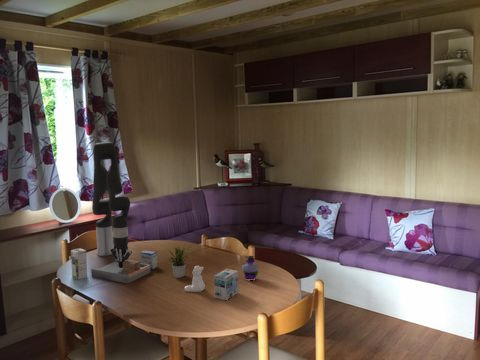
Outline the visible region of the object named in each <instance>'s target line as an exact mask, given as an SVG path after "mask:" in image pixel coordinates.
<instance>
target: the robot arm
mask: <svg viewBox="0 0 480 360" xmlns="http://www.w3.org/2000/svg"><path fill="white" fill-rule="evenodd" d="M92 149H93V150H92V151H93V154H92V155H93V182H92V183H93V193H92V194H93V195H92V196H93V197H92V205H91V206H92V207H91V209H92V213H93V215H94V216H102V215H103V216H104V217H103V218H101V219H98V220H97V221H96V222H95V232H96V233H95V234H96V235H95V236H96V251H97V254H96V255H97V256H99V257H108V256H111V255H112V256H113V257H114V260H115V259H117V260H118V263H119V268H123V262H125V260H126V261H127V260H129V258H130V256H131V255H132V253H133V251H132V250H131V251H130V250H129V246H128V245H129V230H128V215H129V211H130V208H131V200H130V197H128V196H118V195H121V194H122V193H123V191H124V188H123V184H122V181H121V177H120V171H119V164H118V163H119V162H118V155H117V149H116V146H115V144H114V142H113V141H107V142H106V141H104V142H96V143H95V144H94V145H93V148H92ZM106 160H110V167H109V170H107V168H106V167H104V165H103V163H102V162H101V161H106ZM107 192H108V198H103V199H101V198H102V197H103V196H104V195H105V194H106V193H107ZM119 211H120V212H119ZM113 212H119V214H116V215H114V216H113V215H112V213H113ZM112 216H113V217H112Z"/></svg>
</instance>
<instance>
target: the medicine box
mask: <svg viewBox="0 0 480 360" xmlns="http://www.w3.org/2000/svg"><path fill="white" fill-rule="evenodd" d="M157 253H158V252H157V251H152V250H142V251H141V252H140V255H139V256H140V257H139V258H140V263H143V264H149V265H151V270H153V269H156V268H157V267H158V256H157Z"/></svg>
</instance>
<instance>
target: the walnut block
mask: <svg viewBox="0 0 480 360" xmlns="http://www.w3.org/2000/svg"><path fill="white" fill-rule="evenodd" d="M140 263H141V260H133V259H127V260H126V261H125V262H123V272H127V273H132V272H134V271H136V270H139V269H140Z"/></svg>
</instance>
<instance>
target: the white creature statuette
mask: <svg viewBox="0 0 480 360" xmlns="http://www.w3.org/2000/svg"><path fill="white" fill-rule="evenodd" d="M193 267H194V268H193V269H192V272H191V273H192V275H193V276H192V281H191V284H189V285H186V286H184V292H189V293H191V292H192V293H201V292H202V291H204V290H205V288H206V283H205V282H204V280H203V276H202V275H201V274H202V272H203V270H204V266H200V265H195V266H193Z"/></svg>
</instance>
